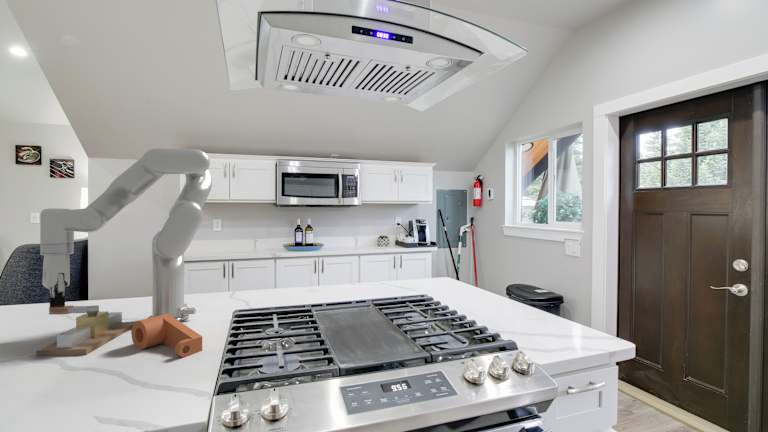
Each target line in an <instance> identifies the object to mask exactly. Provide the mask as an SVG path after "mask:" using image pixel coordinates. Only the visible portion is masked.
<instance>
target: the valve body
mask: <svg viewBox="0 0 768 432" xmlns="http://www.w3.org/2000/svg"><path fill="white" fill-rule="evenodd" d="M122 322H123V312H122V311H117V312H116V311H113V312H109V310H107V311H99V312H96V313H83V314H82V315H79V316H76V318H75V325H76V326H75V327H72V328H69V330H66V331H63V332H60V333H59V334H57V335H56V342H57V349H65V348H73V347H75V346H77V345H79V344H81V343H83V342H85V341H87V340H89V339H91V338H96V337H98V336H100V335H102V334H104V333H106V332H108V330H109V329H111V328H113V327H115V326H117V325H119V324H121V323H122Z"/></svg>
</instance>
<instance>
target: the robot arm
mask: <svg viewBox="0 0 768 432" xmlns="http://www.w3.org/2000/svg"><path fill="white" fill-rule="evenodd" d="M210 165H211V161H210V157H209V156H208V154H207V153H206V152H205V151H203V150H201V149H197V148H167V147H166V148H160V147H159V148H155V147H154V148H151V149H148V150H146V151H145V152H144V153H143V155H142V156H141V157H140V158H139V159H138V160H136V161H135V162H134V163H133V164H132V165H131V166H129V167H128V168H127V169H125V170H124V171H123V172H122V173H121V174H119V176H117V177H116V178H115V179H113V180H112V182H111V183H110V184H109V186H108V187H107V188H106V190H104V192H103V193H101V194H100V195H99V196H98V197H97V198H96V199H94V200H93V202H91V203H90V204H89V205H87V206H86V207H84V208H78V209H70V208H45V209H42V210H41V211H40V214H39V215H40V217H39V219H40V221H39V224H40V227H39V228H40V229H39V233H40V236H39V237H40V239H39V245H40V246H39V248H40V252H39V255H40V256H44V257H43V262H42V279H41V281H42V282H41V283H42V286H43V287H44V288H46V289H47V290H49V296H50V297H49V308H50V307H53V306H66V296H65V293H66V288H68V287H69V286H70V285H71V284H70V283H71V267H70V266H71V265H70V264H71V263H70V262H71V259H70V255H73V254H75V252H74V250H75V249H74V248H75V244H74V243H75V240H74V239H75V232H80V233H94V232H97V231H99V230H100V229H102V228H103V227H104V226H105V225H106V224H107V223H108V222H109V221H110V220H112V219H113V218H114V217H115V216H116V215H117V214H119V213H120V212H121V211H123V210H124V209H125V208H126V207H127V206H128V205H130V204H131V203H133V202H135V201H136V200H137V199H138V198H140V197H141V196H142V195H143V194H144V193H145V192H146V191H147V190H149V189H150V188H151V187H152V186H153V185H154V184H155V183H156V182H158V181H159V180H160V179H161V178H162V177H164V175H185V176H184V177H185V184H184V185H183V187H182V190H181V192H180V193H179V195H178V197H177V198H176V201H175V202H174V203H173V205H172V206H171V208H170V209H169V213H168V218H167V219H166V221H165V222H164V225H163V227H162V228H161V230H158V232H156V234H155V235H154V236H153V237H152V241H151V256H152V258H151V259H152V278H151V279H152V284H151V286H152V289H151V290H152V293H151V294H152V295H151V296H152V297H151V298H152V299H151V300H152V307H151V309H152V310H151V311H152V313H151V314H152V315H150V316H148V317H147V318H151V317H155V316H160V315H164V314H169V315H171V316H172V317H174V318H175V319H177V320H178V321H180V322H181V321H184V320H187V319H188V318H189V317H190V315H195V314H196V313H197V309H196V308H195V307H188V304H187V303H185V253H186V252H187V249H188V248H189V247H190V245H191V243H192V242H193V241H192V240H193V239H194V237H195V235H196V234H197V231H198V229H199V228H200V226H201V224H202V221H203V218H204V212H203V208H204V205H205V203H206V201H207V200H208V197H209V195H210V193H211V190H212V187H213V181H212V180H213V179H212V175H211V172H210V170H209V168H210Z"/></svg>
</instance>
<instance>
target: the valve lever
mask: <svg viewBox="0 0 768 432" xmlns="http://www.w3.org/2000/svg"><path fill="white" fill-rule="evenodd" d="M96 312H100V306H99V305H96V304H95V305H65V306H53V307H50V306H49V308H48V315H69V314H86V313H96Z"/></svg>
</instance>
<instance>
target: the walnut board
mask: <svg viewBox="0 0 768 432" xmlns="http://www.w3.org/2000/svg"><path fill="white" fill-rule="evenodd" d="M135 322H136V321H124V322H123V321H122V323H121V324H119V325H117V326H115V327H113V328H111V329H109V330H108V332H106V333H104V334H102V335H100V336H98V337H96V338H91V339H89V340H87V341H85V342H83V343H81V344H79V345H77V346H75V347H73V348H65V349H57V341H55V342H53V343H50V344H48V345H45V346H44V347H42V348H38V349H37V350H36V351H35V357H58V356H59V357H60V356H61V357H64V356H87V355H89V354H91V353H92V352H94V351H96V350H97V349H99V348H101V347H103V346H104V345H106V344H108V343H109V342H111V341H113V340H114V339H116V338H118V337H119V336H122V335H123V334H125V333H127V332H128V331H130V330H132V326H133V324H134V323H135Z"/></svg>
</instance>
